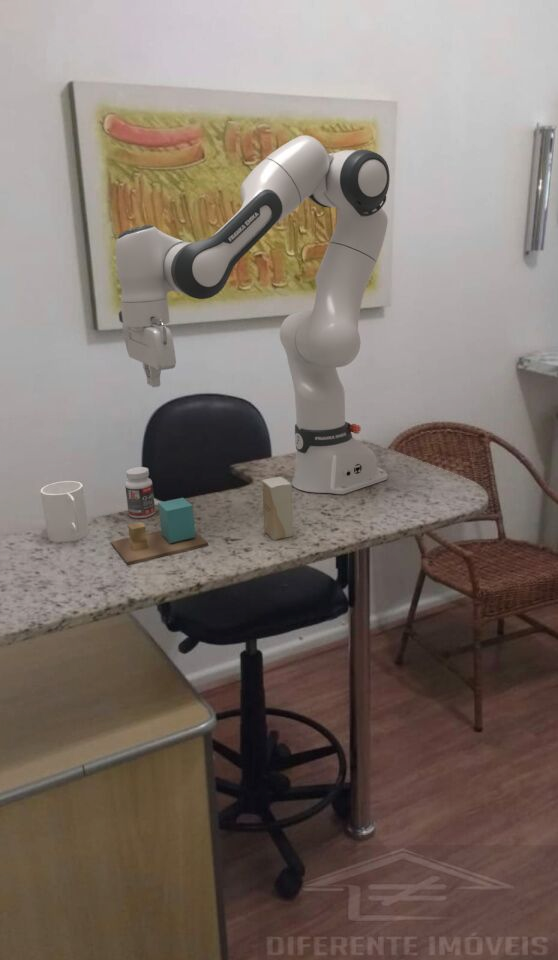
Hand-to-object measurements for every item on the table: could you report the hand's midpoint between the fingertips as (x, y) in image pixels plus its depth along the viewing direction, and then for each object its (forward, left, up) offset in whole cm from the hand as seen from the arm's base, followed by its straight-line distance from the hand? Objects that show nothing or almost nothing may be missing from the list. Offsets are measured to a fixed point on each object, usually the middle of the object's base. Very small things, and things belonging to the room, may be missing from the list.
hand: (154, 385), depth 149 cm
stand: (+6, +12, -29) cm, 32 cm away
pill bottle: (+4, -6, -29) cm, 30 cm away
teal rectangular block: (+2, +12, -28) cm, 30 cm away
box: (-16, +20, -29) cm, 39 cm away
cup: (+20, -2, -29) cm, 35 cm away
